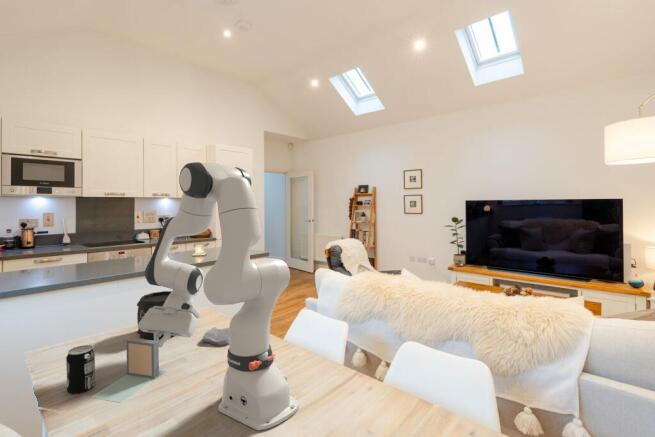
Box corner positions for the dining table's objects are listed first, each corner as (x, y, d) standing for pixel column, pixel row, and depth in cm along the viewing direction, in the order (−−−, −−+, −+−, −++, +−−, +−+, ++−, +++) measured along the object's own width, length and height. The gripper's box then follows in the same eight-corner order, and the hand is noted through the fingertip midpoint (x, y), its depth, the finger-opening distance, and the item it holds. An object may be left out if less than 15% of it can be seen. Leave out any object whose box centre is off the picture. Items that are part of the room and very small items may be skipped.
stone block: (229, 350, 127) (238, 335, 136) (228, 339, 125) (237, 325, 135) (200, 350, 128) (211, 335, 137) (198, 339, 126) (209, 324, 136)
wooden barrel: (128, 334, 136) (127, 296, 135) (171, 322, 150) (170, 288, 150) (148, 346, 125) (148, 305, 124) (192, 332, 139) (192, 295, 139)
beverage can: (65, 389, 96) (64, 349, 95) (92, 381, 101) (92, 342, 100) (68, 399, 91) (67, 356, 91) (97, 389, 96) (96, 349, 95)
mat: (166, 371, 107) (166, 370, 107) (120, 403, 89) (120, 402, 89) (140, 367, 109) (140, 366, 109) (90, 398, 92) (90, 397, 92)
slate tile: (132, 371, 106) (131, 337, 105) (158, 375, 103) (158, 341, 103) (126, 374, 104) (126, 340, 103) (153, 378, 101) (153, 343, 101)
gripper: (146, 301, 118) (124, 338, 109) (197, 306, 114) (178, 346, 105) (155, 309, 123) (135, 346, 114) (204, 314, 118) (187, 353, 109)
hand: (156, 346), depth 109 cm, fingers closed
